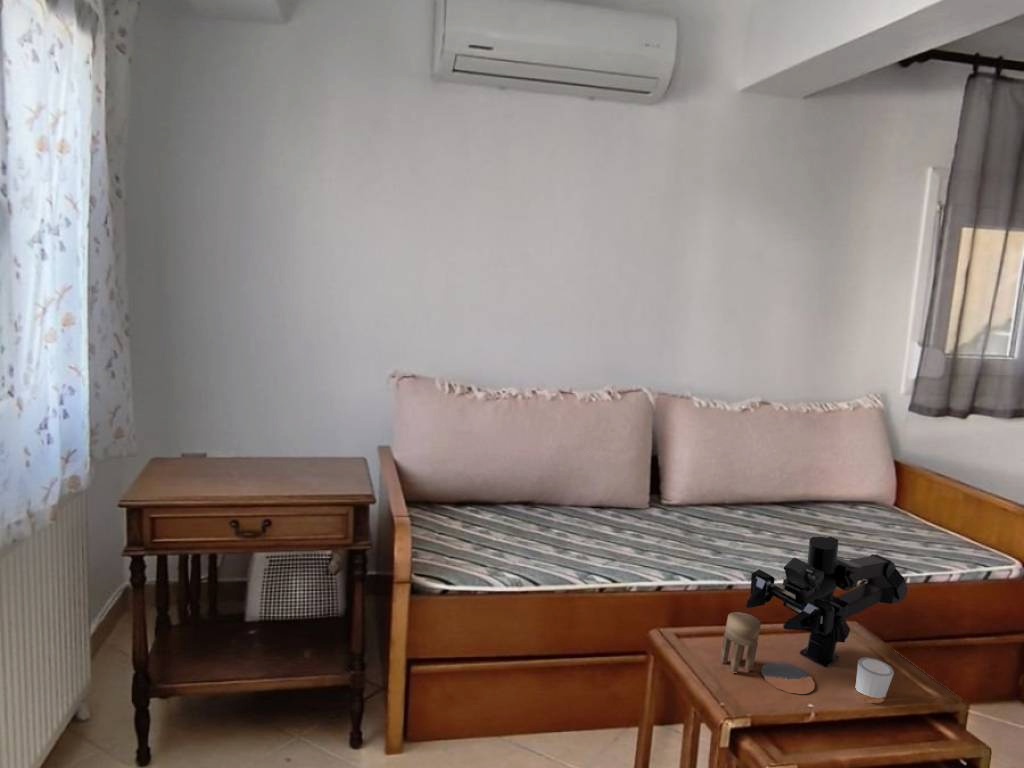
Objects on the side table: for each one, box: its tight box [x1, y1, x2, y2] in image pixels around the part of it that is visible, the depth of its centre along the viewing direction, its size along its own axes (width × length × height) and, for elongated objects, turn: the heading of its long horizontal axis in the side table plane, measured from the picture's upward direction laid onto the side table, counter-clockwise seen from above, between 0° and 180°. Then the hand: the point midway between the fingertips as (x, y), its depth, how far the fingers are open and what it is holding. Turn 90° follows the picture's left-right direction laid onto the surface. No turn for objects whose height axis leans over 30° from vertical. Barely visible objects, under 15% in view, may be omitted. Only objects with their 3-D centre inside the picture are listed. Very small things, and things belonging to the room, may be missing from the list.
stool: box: [718, 611, 762, 673], centre depth 169 cm, size 7×7×11 cm
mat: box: [760, 661, 811, 680], centre depth 168 cm, size 11×11×1 cm
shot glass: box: [854, 656, 895, 698], centre depth 164 cm, size 7×7×7 cm
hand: (764, 615), depth 160 cm, fingers open, 9 cm apart
